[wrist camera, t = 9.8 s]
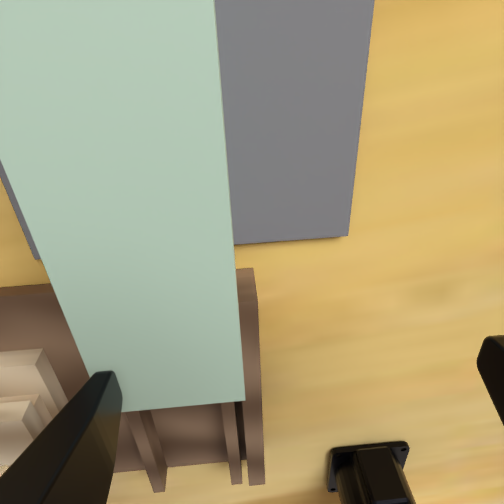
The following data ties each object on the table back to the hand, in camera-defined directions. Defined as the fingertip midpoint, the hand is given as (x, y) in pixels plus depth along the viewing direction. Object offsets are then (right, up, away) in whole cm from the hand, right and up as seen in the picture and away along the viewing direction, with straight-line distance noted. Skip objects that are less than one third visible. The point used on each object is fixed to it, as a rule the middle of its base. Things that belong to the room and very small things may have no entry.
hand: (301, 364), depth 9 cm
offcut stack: (-15, -7, +16) cm, 23 cm away
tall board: (-4, +9, +7) cm, 12 cm away
